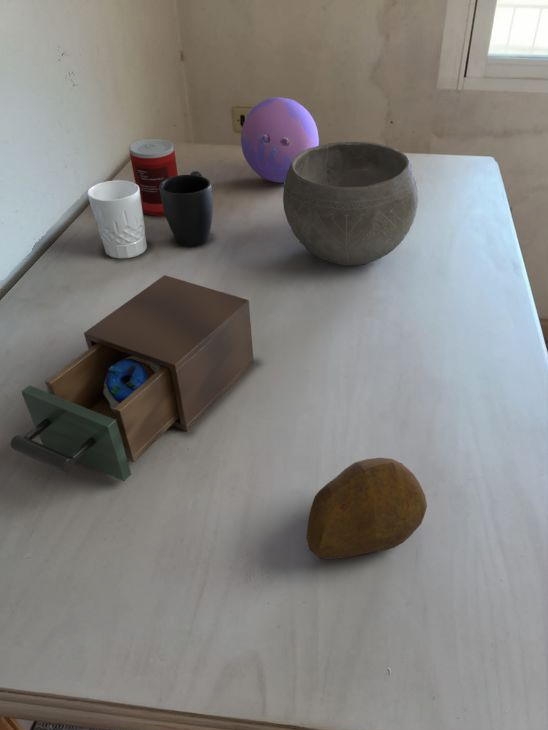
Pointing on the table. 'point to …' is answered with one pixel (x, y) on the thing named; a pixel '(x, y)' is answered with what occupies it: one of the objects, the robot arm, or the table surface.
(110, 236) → the white cup
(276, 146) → the decorative ball
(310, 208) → the bowl
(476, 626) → the table surface
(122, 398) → the dessert
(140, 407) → the drawer
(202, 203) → the mug
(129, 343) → the cabinet
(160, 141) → the canned food
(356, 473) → the potato
